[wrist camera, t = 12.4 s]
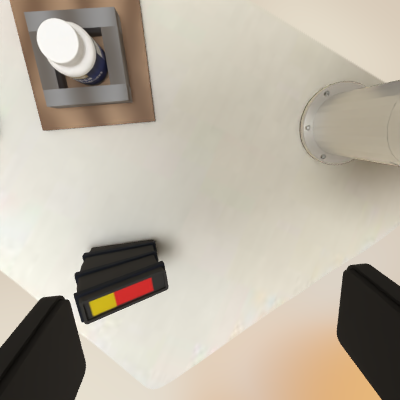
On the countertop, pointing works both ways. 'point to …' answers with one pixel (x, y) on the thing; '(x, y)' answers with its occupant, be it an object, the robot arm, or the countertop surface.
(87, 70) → the pill bottle
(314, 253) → the countertop surface
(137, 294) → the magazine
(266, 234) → the countertop surface
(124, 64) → the mount
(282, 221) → the countertop surface
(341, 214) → the countertop surface
